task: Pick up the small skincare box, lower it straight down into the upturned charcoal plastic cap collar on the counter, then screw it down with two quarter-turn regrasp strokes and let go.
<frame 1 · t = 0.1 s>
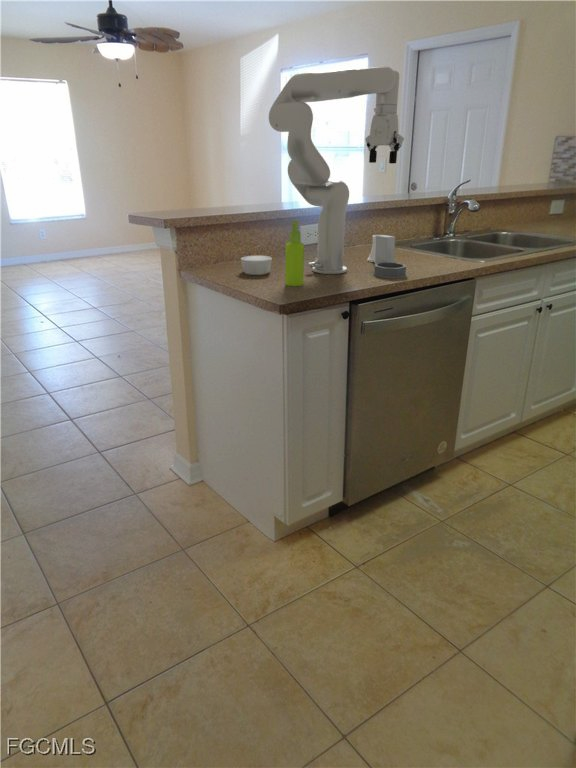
hand: (382, 162, 200), 37 cm above the countertop, tool pointing down, fingers open, 9 cm apart
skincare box: (383, 269, 206), on the countertop
cap collar: (389, 274, 196), on the countertop
salt shaker: (376, 261, 220), on the countertop
soap dispenser: (294, 284, 183), on the countertop
ramekin: (256, 273, 199), on the countertop
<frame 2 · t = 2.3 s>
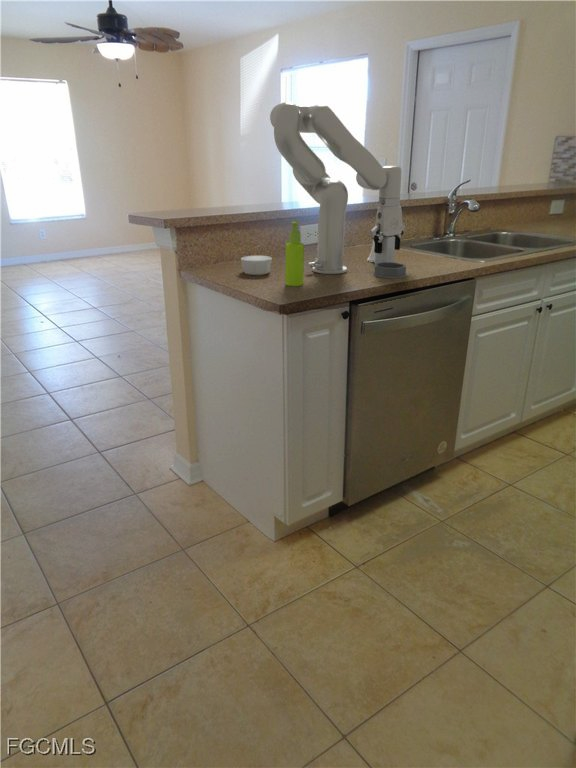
hand: (387, 251, 203), 6 cm above the countertop, tool pointing down, fingers open, 9 cm apart
nothing on the countertop moved.
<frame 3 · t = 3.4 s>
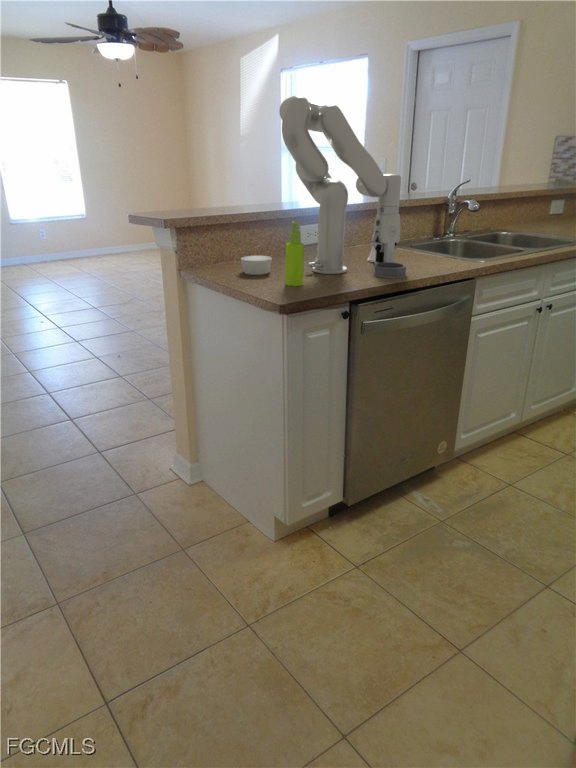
hand: (384, 261, 205), 3 cm above the countertop, tool pointing down, fingers closed on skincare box, 4 cm apart
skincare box: (383, 269, 206), on the countertop, touching gripper
everything else where it was.
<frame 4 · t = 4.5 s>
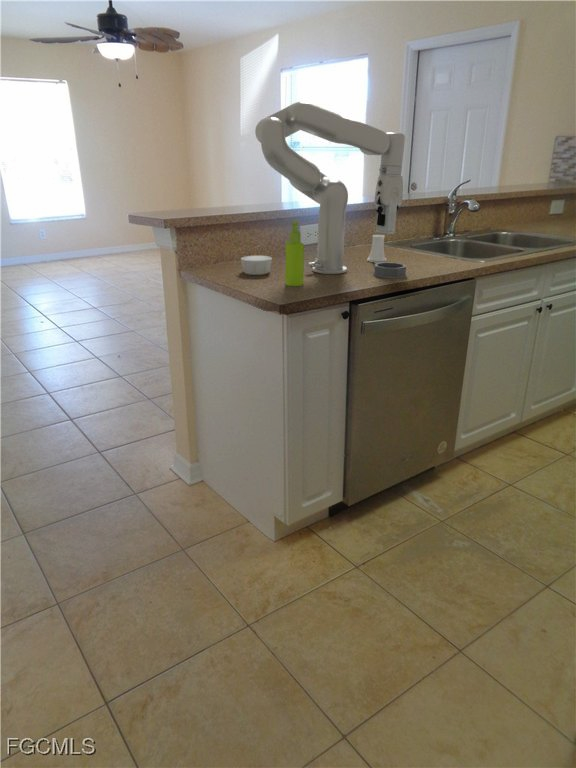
hand: (385, 224, 199), 16 cm above the countertop, tool pointing down, fingers closed on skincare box, 4 cm apart
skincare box: (384, 233, 200), point 13 cm above the countertop, touching gripper
everything else where it was.
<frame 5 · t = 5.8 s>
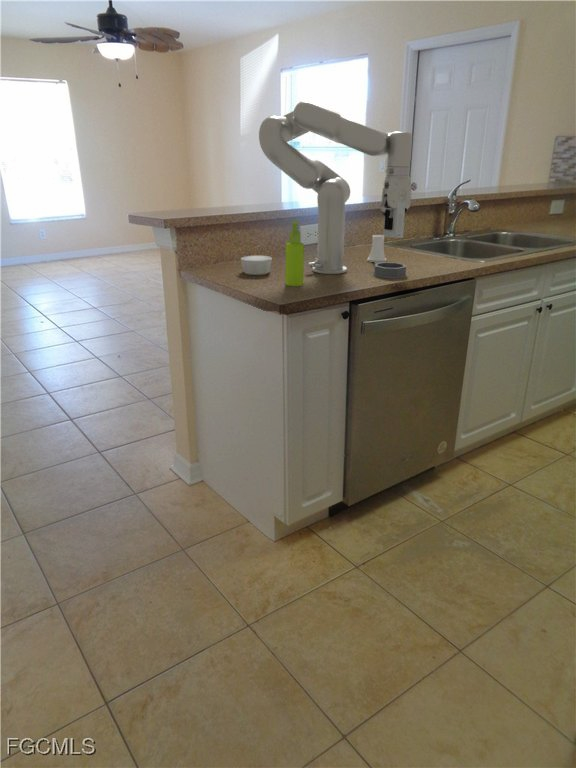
hand: (393, 228, 190), 16 cm above the countertop, tool pointing down, fingers closed on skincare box, 4 cm apart
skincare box: (392, 237, 191), point 13 cm above the countertop, touching gripper
everything else where it was.
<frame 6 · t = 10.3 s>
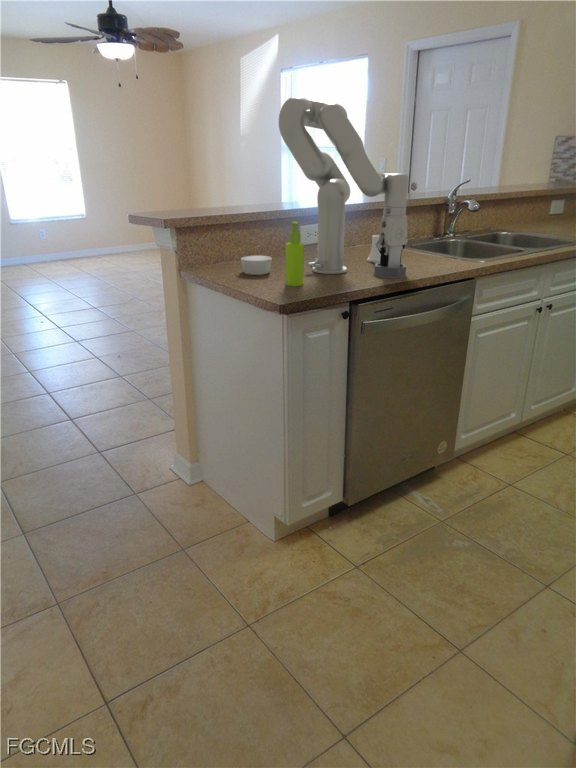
hand: (390, 264, 195), 4 cm above the countertop, tool pointing down, fingers closed on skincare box, 6 cm apart
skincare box: (389, 274, 196), resting on cap collar, touching gripper
everything else where it was.
when the fingers open (4 cm above the countertop, at t = 11.5 s): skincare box stays where it is, resting on cap collar.
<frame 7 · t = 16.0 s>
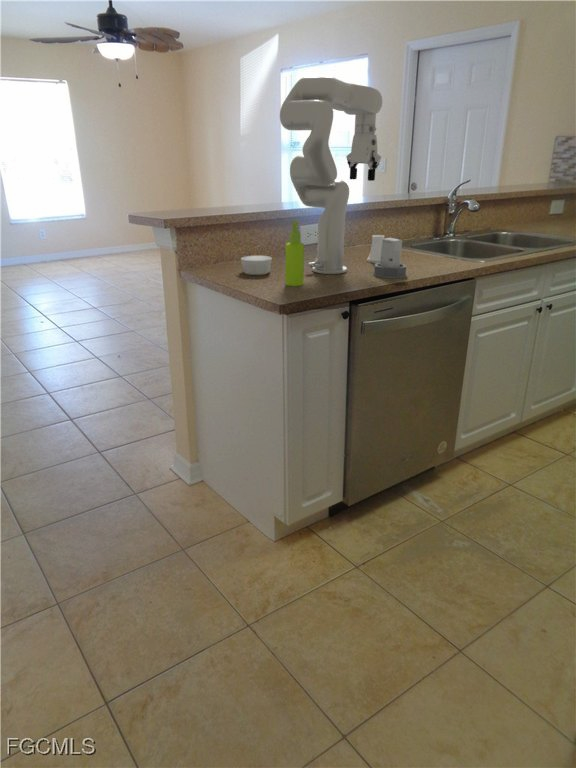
hand: (361, 179, 210), 30 cm above the countertop, tool pointing down, fingers open, 9 cm apart
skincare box: (389, 274, 196), resting on cap collar
everything else where it was.
at the end: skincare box 0.1 cm off-centre on the cap collar, point 0.2 cm above the cap collar's base; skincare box tilted 0°; the gripper is holding nothing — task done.
